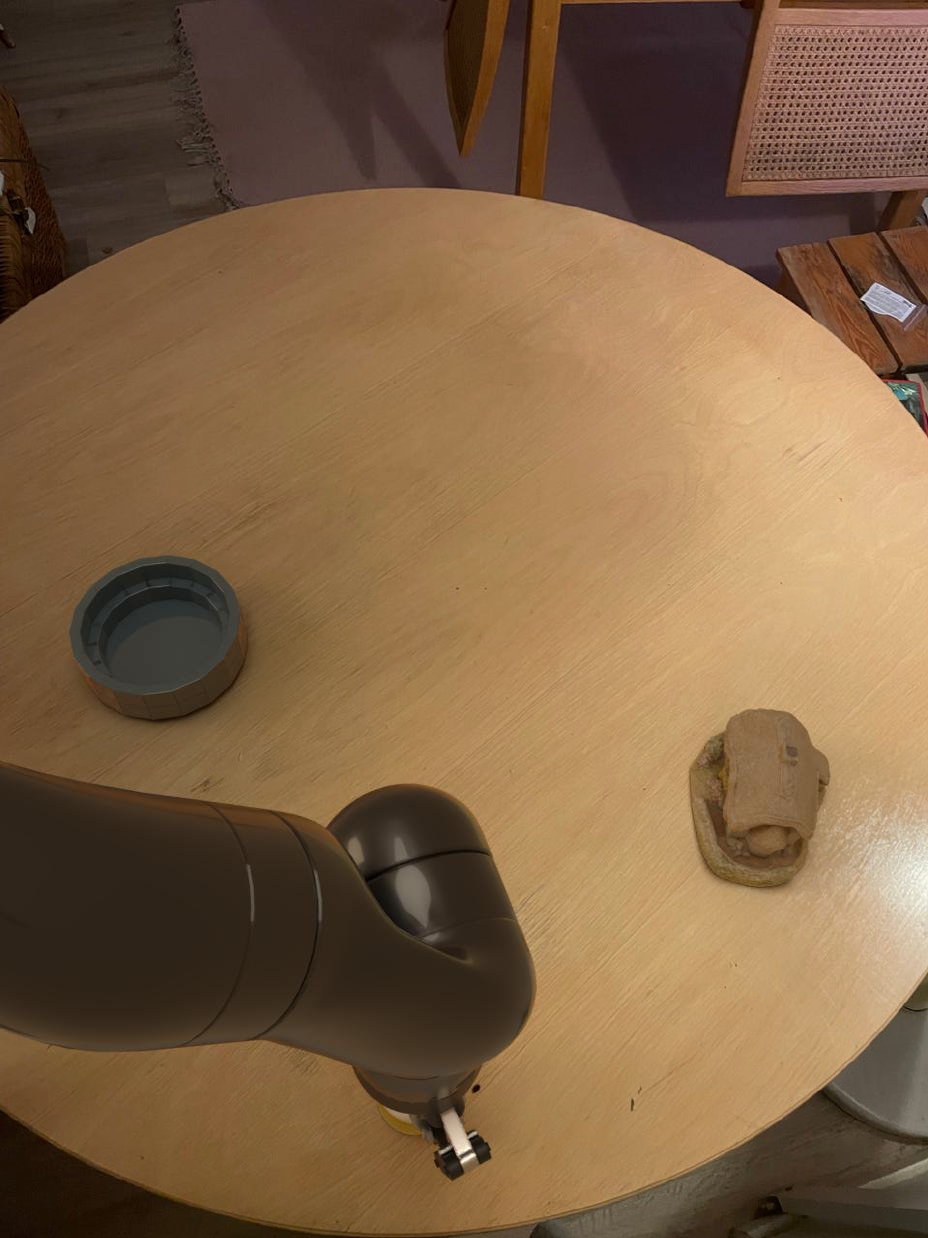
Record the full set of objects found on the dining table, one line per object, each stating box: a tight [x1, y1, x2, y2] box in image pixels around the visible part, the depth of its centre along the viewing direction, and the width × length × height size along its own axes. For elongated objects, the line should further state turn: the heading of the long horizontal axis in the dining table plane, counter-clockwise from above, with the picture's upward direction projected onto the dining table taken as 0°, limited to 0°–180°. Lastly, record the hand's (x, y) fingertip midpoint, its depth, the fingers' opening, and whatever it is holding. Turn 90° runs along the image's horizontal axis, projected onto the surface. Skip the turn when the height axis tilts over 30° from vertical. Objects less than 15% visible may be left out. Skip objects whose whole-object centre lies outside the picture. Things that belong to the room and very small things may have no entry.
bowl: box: [68, 554, 248, 720], centre depth 89 cm, size 14×14×5 cm
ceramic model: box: [689, 708, 832, 888], centre depth 81 cm, size 14×11×10 cm
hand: (416, 1081), depth 67 cm, fingers closed on supplement bottle, 5 cm apart
